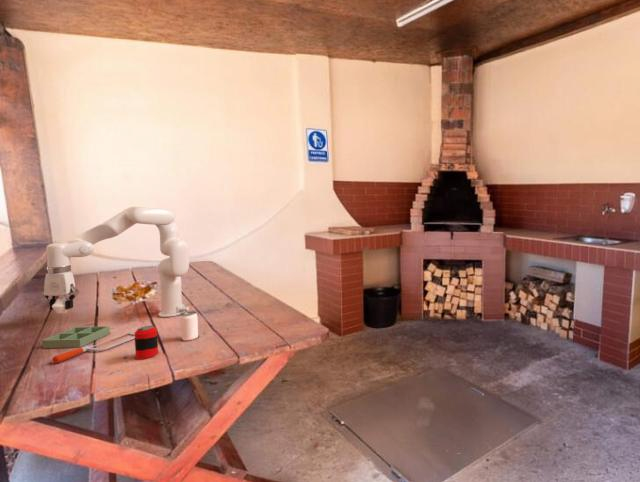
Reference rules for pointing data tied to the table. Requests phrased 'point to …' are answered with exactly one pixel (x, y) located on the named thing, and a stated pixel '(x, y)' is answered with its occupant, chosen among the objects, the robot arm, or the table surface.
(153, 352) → the soda can
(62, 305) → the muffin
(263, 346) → the table surface
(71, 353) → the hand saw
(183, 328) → the can
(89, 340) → the tray
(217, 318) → the table surface
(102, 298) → the table surface
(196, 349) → the table surface
